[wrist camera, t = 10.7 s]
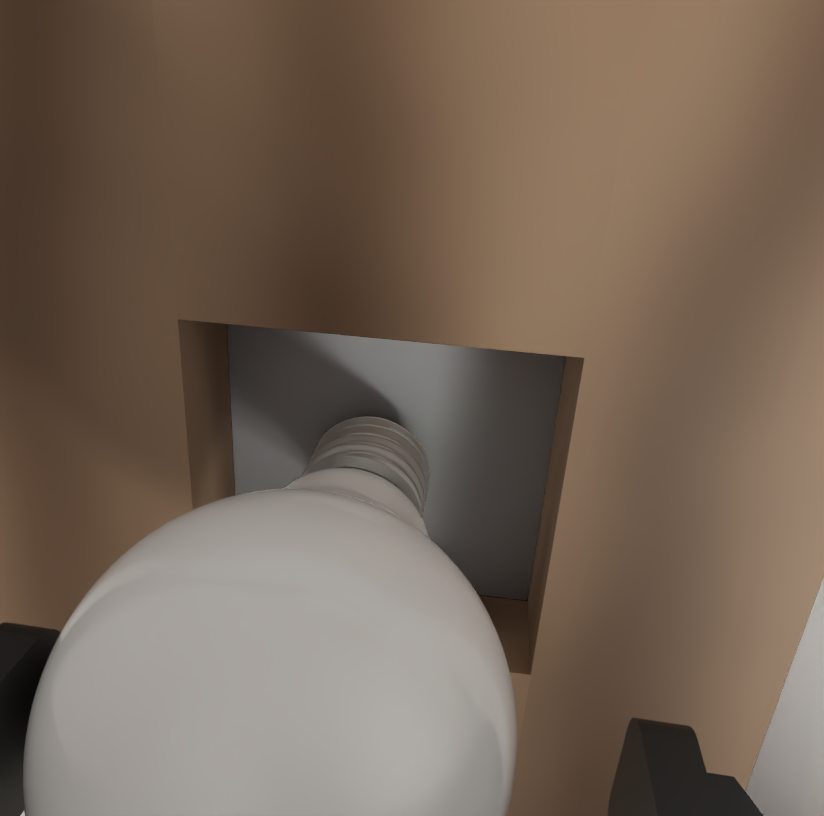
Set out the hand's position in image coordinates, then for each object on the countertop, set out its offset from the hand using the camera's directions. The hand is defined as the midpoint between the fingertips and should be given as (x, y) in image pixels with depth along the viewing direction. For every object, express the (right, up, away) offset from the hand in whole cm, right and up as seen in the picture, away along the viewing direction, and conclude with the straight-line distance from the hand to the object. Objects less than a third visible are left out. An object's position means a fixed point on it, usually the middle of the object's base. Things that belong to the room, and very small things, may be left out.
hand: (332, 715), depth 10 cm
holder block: (+1, +3, +7) cm, 8 cm away
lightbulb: (0, +3, +7) cm, 8 cm away
